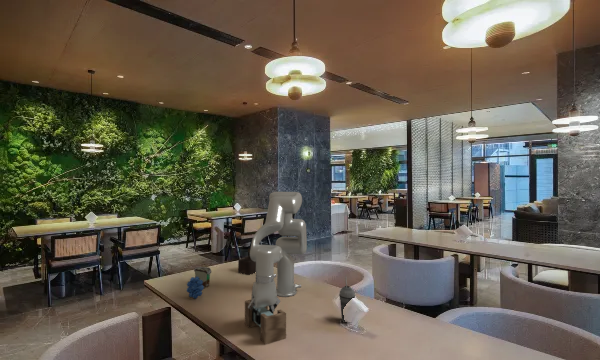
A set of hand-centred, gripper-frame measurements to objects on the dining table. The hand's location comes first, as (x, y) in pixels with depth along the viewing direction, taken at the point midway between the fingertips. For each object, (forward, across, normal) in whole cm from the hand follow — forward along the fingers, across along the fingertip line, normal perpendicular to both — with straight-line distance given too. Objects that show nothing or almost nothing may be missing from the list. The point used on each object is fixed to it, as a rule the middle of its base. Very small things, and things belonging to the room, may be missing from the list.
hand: (264, 321), depth 132 cm
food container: (+4, +5, -73) cm, 73 cm away
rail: (+2, 0, 0) cm, 2 cm away
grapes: (+4, +15, -53) cm, 55 cm away
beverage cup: (+4, -36, +11) cm, 38 cm away
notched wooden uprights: (+4, 0, 0) cm, 4 cm away
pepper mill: (+4, -29, -82) cm, 87 cm away
